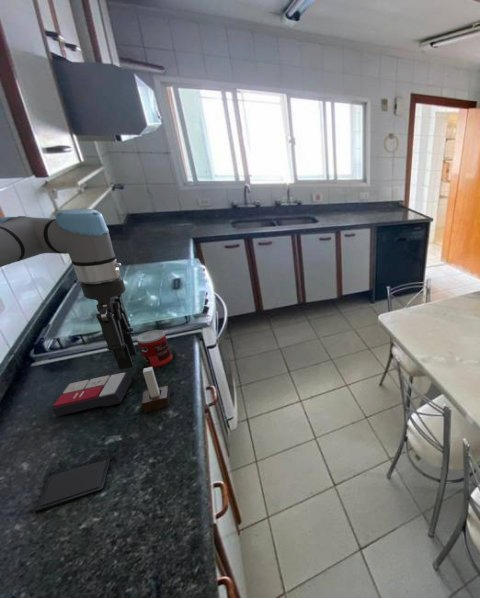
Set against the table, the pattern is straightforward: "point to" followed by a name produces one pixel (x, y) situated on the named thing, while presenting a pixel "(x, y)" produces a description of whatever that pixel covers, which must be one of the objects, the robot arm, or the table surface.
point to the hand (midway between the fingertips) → (128, 361)
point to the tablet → (73, 485)
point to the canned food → (154, 348)
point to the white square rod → (151, 382)
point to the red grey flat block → (92, 393)
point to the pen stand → (156, 400)
